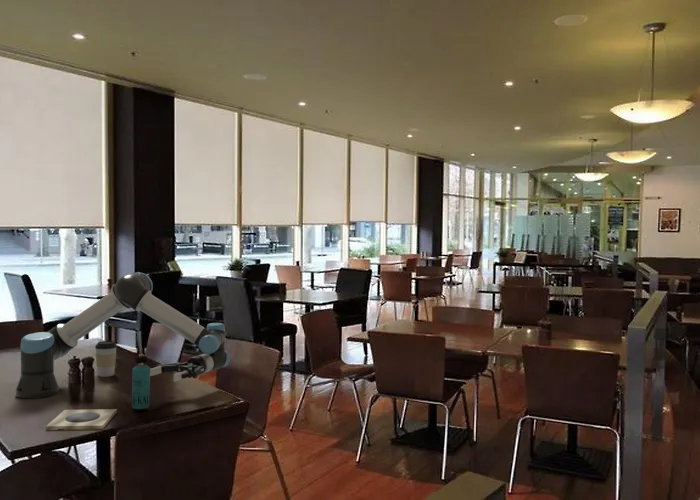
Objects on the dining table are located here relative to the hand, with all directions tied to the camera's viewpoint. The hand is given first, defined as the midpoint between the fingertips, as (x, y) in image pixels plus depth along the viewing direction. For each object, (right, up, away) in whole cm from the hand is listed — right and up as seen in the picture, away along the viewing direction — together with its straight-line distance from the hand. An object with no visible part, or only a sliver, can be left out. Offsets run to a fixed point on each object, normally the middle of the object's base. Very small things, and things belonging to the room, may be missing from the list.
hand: (160, 375), depth 233 cm
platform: (-26, -9, +55) cm, 62 cm away
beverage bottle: (-5, -11, -8) cm, 15 cm away
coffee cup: (-38, -9, +43) cm, 58 cm away
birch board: (-21, -11, -21) cm, 31 cm away
